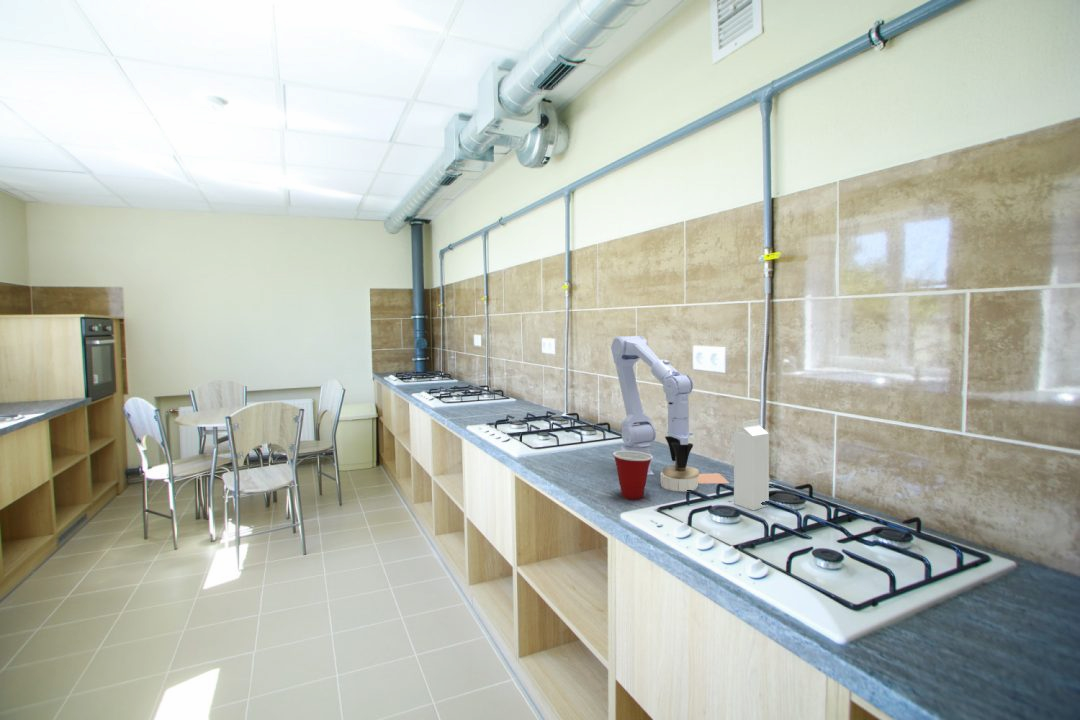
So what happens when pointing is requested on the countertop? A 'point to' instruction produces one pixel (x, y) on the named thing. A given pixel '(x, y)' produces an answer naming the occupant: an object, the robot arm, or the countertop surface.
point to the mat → (711, 478)
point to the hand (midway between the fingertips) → (678, 464)
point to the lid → (680, 472)
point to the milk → (751, 465)
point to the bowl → (678, 483)
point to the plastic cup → (632, 472)
